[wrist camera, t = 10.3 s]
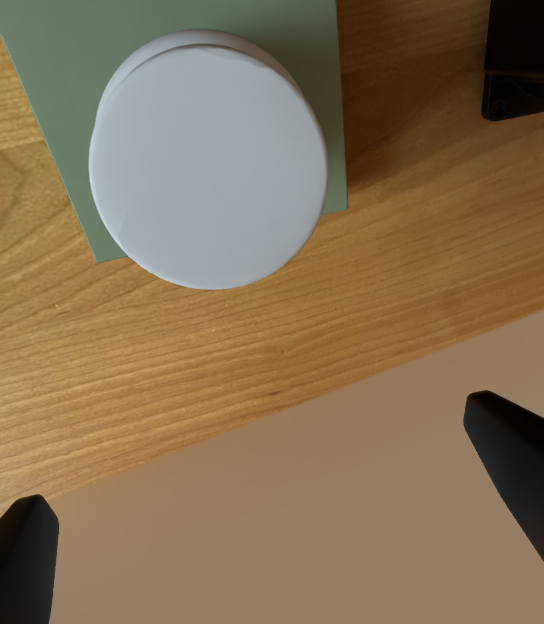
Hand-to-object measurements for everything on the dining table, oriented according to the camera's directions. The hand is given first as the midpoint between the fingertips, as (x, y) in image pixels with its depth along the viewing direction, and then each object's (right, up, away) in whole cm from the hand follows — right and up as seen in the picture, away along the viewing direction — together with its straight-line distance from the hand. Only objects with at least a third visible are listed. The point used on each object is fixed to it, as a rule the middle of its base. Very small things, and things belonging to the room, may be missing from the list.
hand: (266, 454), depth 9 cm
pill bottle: (-2, +9, +6) cm, 11 cm away
